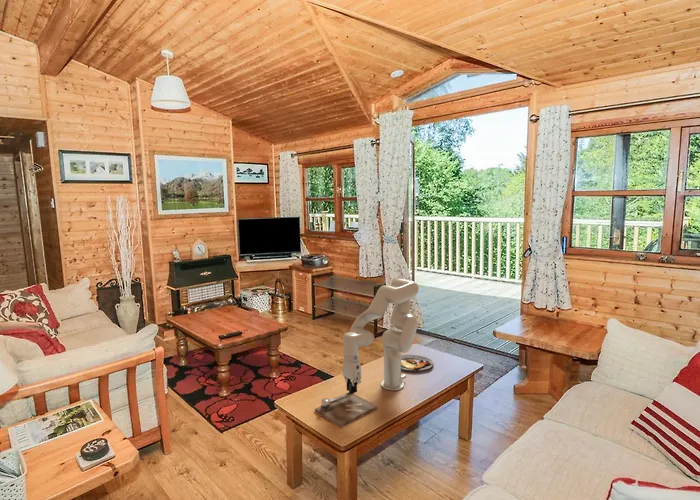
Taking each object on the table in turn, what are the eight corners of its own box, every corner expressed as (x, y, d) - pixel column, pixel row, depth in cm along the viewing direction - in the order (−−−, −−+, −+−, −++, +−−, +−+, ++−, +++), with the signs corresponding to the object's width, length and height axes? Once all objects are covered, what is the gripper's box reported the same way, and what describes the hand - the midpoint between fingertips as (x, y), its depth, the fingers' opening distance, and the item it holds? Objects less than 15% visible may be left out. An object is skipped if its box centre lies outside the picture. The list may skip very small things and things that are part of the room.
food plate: (441, 367, 247) (441, 362, 246) (410, 377, 235) (410, 371, 235) (415, 355, 268) (415, 350, 268) (386, 363, 257) (386, 357, 257)
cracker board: (351, 395, 214) (351, 390, 214) (377, 408, 200) (377, 404, 200) (315, 411, 198) (314, 406, 198) (340, 427, 184) (340, 422, 184)
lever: (351, 393, 210) (351, 380, 209) (356, 396, 207) (356, 383, 206) (320, 405, 199) (319, 391, 198) (324, 409, 195) (324, 395, 194)
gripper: (367, 359, 201) (368, 394, 203) (346, 350, 213) (347, 383, 216) (356, 364, 196) (357, 399, 199) (335, 354, 208) (336, 388, 211)
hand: (351, 390), depth 207 cm, fingers closed on lever, 3 cm apart
